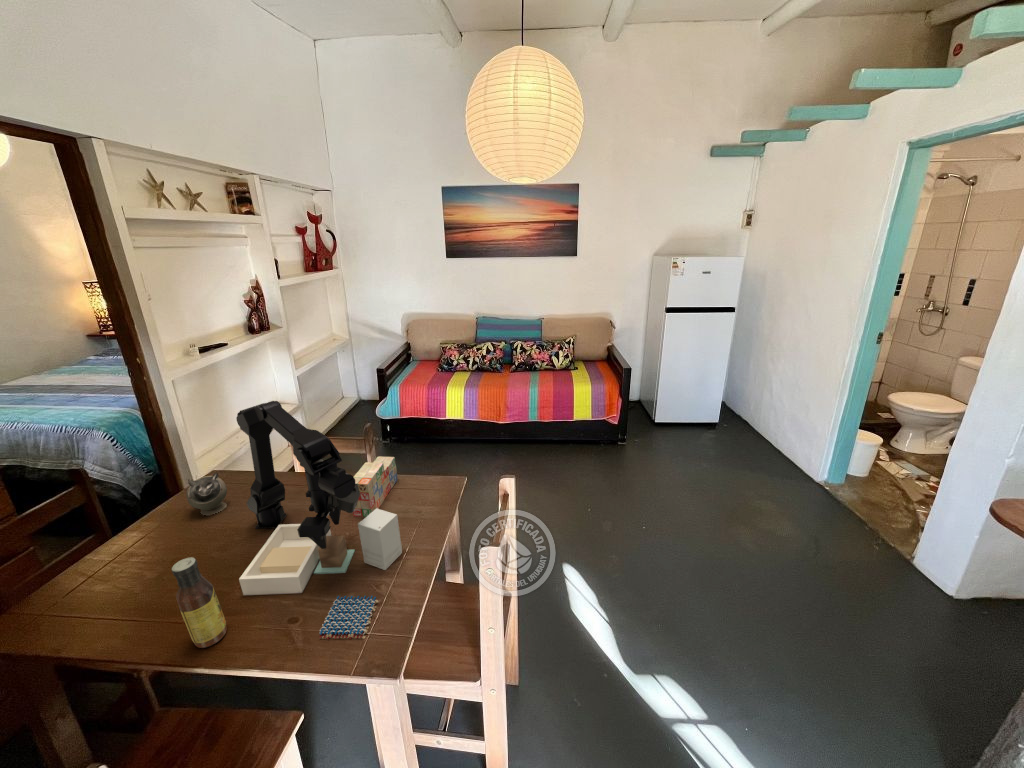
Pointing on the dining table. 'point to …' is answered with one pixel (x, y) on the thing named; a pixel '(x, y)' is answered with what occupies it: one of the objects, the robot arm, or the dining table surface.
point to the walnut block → (333, 552)
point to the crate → (281, 563)
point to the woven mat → (348, 618)
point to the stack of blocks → (374, 484)
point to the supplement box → (380, 538)
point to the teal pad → (336, 569)
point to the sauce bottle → (198, 604)
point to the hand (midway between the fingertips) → (330, 535)
